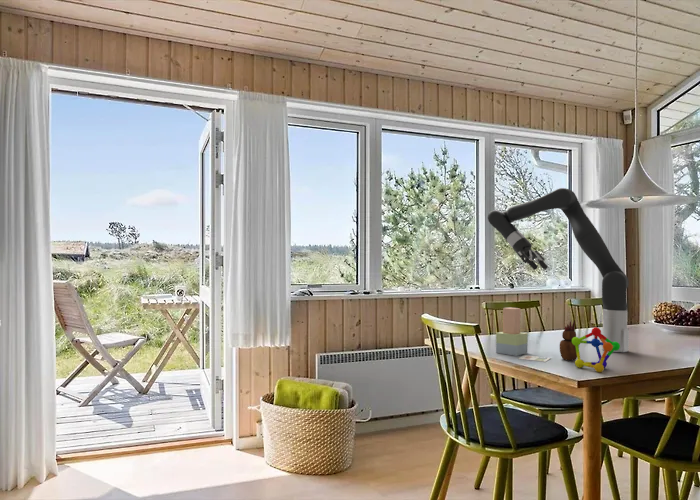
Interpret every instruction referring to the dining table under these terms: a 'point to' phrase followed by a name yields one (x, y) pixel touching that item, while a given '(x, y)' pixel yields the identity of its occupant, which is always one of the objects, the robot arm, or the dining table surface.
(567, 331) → the wooden figurine
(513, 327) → the brick
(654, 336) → the dining table surface
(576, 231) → the robot arm
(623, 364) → the dining table surface
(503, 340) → the pedestal
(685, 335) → the dining table surface
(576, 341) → the educational toy
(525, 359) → the page
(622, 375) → the dining table surface
